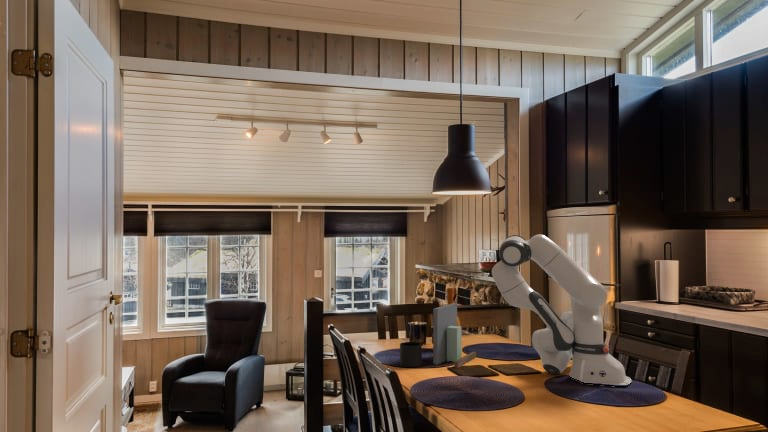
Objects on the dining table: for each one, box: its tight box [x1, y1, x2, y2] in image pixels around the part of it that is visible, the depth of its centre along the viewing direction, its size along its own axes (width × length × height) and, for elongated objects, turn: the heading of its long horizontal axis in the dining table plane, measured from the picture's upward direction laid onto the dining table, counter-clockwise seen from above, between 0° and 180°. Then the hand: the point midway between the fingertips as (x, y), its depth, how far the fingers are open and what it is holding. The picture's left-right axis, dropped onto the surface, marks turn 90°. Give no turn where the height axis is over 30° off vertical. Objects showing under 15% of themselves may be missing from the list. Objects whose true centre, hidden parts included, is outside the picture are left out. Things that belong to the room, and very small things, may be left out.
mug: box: [399, 341, 423, 368], centre depth 230 cm, size 9×12×9 cm
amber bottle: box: [446, 287, 461, 327], centre depth 262 cm, size 10×10×30 cm
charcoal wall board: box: [432, 302, 477, 368], centre depth 237 cm, size 12×22×24 cm, turn 150°
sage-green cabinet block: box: [446, 325, 462, 363], centre depth 237 cm, size 5×5×15 cm
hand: (579, 320), depth 230 cm, fingers open, 8 cm apart
